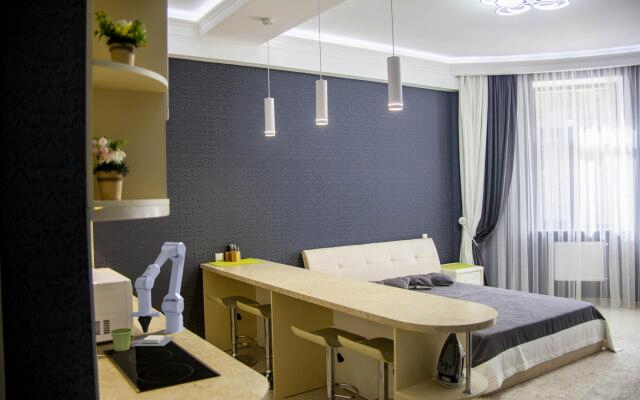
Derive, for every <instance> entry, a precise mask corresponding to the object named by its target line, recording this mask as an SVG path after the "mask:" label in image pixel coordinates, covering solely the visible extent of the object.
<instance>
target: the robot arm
mask: <svg viewBox="0 0 640 400" xmlns="http://www.w3.org/2000/svg"><path fill="white" fill-rule="evenodd" d="M186 250H187V247H186V246H185V244H184V242H182V241H181V242H180V241H179V242H173V241H171V242H169V241H165V242H164V243H163V245H162V246H161V251H160V253H159V254H158V256H157V258H156V260H155V261H154V263H153V264H149V265H148V266H147V268H146V270H145V271H144V272H143V273H142V275H141V276H139V277H138V278H136V280H135V282H134V288H135V289H136V293H137V309H138V311H130V312H129V313H128V318H137V321H138V323H139V325H140V327H141V329H142V333H143V334H147V333H149V327H150V323H151V321H152V319H153V318H155V317H156V318H161V316H162V312H163V313H164V314H163V315H165V317H164V318H165V330H164V331H162V334H179V333H180V332H182V331H183V329H184V328H185V327H184V321H183V320H184V317H183V314H182V313H183V311H184V310H185V309H184V308H185V305H184V304H185V303H184V300H185V299H184V298H183V296H182V295H180V294H181V287H182V280H183V279H182V278H183V272H184V264H185V259H186V258H185V256H186V252H187V251H186ZM168 259H170V260H171V261H172V266H171V274H170V281H169V287H168V293H167V294H166V295H165V296H164V297H163V301H162V303H161V310H162V311H153V310H152V292H151V291H152V288H154V283H155V279H156V278H157V277H158V275H159V274H160V272H161V269H160V268H161V267H163V265H164V264H165V263H166V262H167V260H168ZM182 327H183V328H182ZM184 330H185V329H184Z"/></svg>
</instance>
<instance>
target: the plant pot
mask: <svg viewBox="0 0 640 400" xmlns="http://www.w3.org/2000/svg"><path fill="white" fill-rule="evenodd" d="M133 330H134V329H133V328H132V327H131V328H130V327H122V328H121V327H119V328H116V329H113V330H111V331H110V332H109V334H111V338H112V343H113V348H114V352H123V351H124V352H125V351H127V350H130V345H131V338H132V337H131V336H132V333H133Z"/></svg>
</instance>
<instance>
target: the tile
mask: <svg viewBox="0 0 640 400" xmlns="http://www.w3.org/2000/svg"><path fill="white" fill-rule="evenodd" d="M145 337H146V338H145V339H143V343H159V342H160V341H161V340H163V339H164V337H165V335H158V334H156V335H155V334H154V335H153V334H152V335H151V334H150V335H147V336H145Z"/></svg>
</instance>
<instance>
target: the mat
mask: <svg viewBox="0 0 640 400" xmlns="http://www.w3.org/2000/svg"><path fill="white" fill-rule="evenodd" d="M146 337H147V336H143V337H140V338H138V339H137V340H136V341H134V342H132V344H131V343H130V346H133V347H135V346H136V347H139V346H140V347H148V346H149V347H153V346H155V347H159V346H160V347H165V345H167V344H168V343H170V342H171V341H172V340H174V339H175V338H176V337H175V336H164V339H163V340H161V341H160V342H159V343H143V339H145V338H146Z"/></svg>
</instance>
